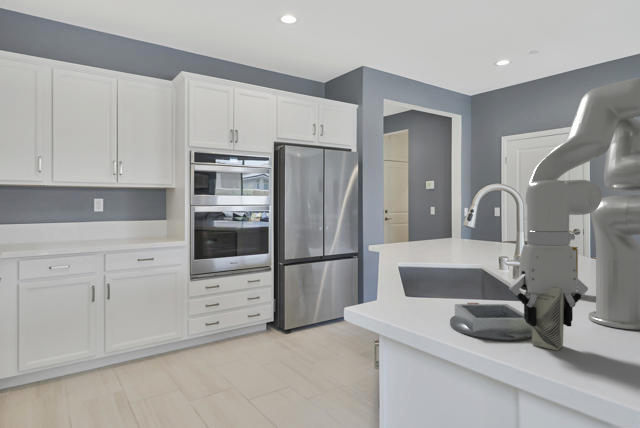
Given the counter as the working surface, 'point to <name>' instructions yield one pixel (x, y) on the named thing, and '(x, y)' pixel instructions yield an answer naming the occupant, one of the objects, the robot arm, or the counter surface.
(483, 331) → the disc with square frame
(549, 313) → the box
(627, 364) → the counter surface
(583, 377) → the counter surface
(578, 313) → the counter surface
